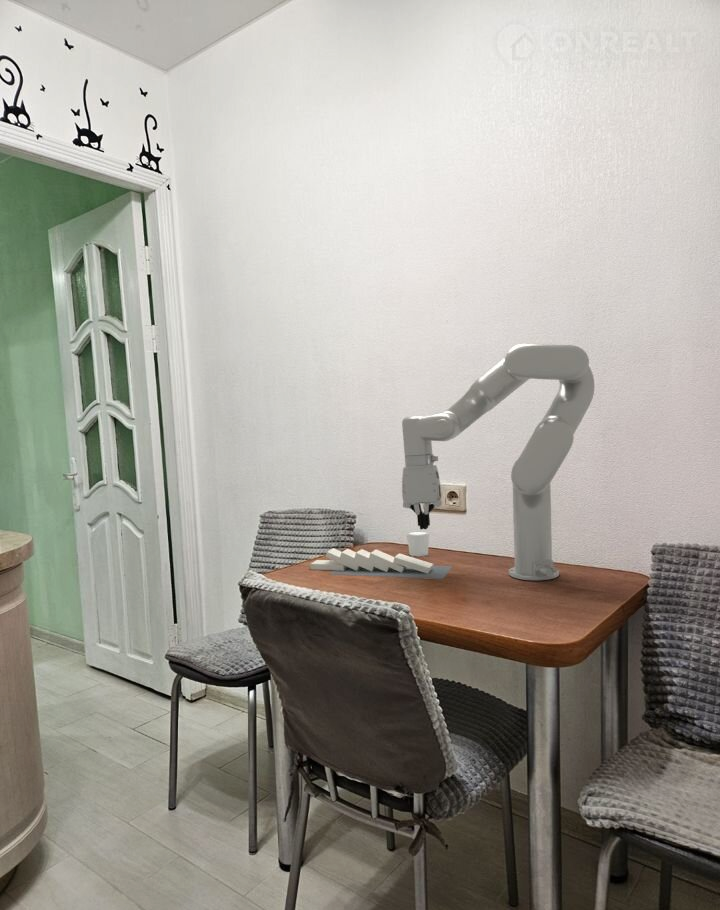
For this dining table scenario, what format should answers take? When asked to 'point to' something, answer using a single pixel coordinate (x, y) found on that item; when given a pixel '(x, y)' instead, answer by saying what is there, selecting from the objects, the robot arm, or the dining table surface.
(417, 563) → the domino
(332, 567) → the domino
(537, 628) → the dining table surface
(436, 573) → the mat
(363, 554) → the domino
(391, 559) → the domino
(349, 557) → the domino
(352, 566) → the domino
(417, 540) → the white cup
